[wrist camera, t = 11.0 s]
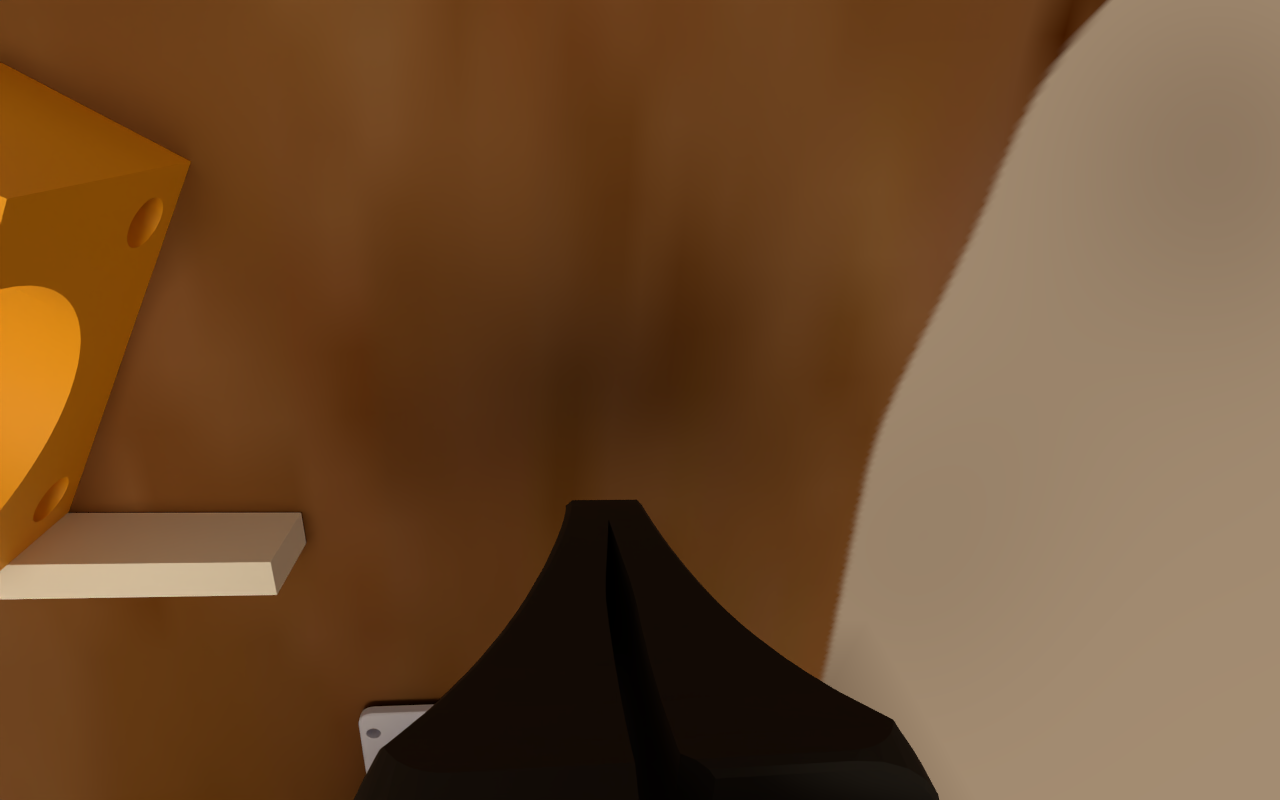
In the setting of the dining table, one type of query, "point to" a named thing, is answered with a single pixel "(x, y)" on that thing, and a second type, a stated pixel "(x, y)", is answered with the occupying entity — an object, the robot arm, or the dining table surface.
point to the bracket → (157, 556)
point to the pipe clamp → (67, 287)
